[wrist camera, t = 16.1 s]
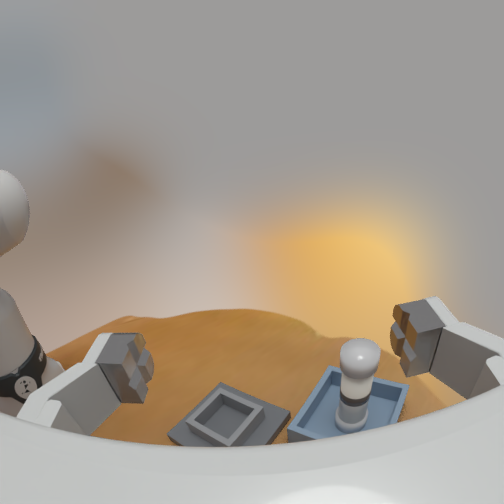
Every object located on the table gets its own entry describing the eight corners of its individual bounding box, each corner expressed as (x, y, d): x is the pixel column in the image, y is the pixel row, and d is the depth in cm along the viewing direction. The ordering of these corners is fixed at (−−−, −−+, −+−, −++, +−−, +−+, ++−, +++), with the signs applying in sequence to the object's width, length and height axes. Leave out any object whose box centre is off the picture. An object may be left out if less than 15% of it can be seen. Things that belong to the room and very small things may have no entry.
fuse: (329, 428, 34) (334, 359, 29) (342, 405, 37) (348, 334, 32) (359, 437, 32) (373, 370, 26) (370, 413, 35) (385, 343, 29)
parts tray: (288, 443, 34) (287, 428, 32) (328, 383, 42) (329, 365, 41) (375, 473, 27) (381, 459, 25) (403, 403, 36) (409, 385, 34)
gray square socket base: (170, 439, 36) (160, 424, 34) (222, 388, 44) (217, 370, 43) (239, 482, 29) (233, 470, 27) (290, 417, 38) (289, 400, 36)
